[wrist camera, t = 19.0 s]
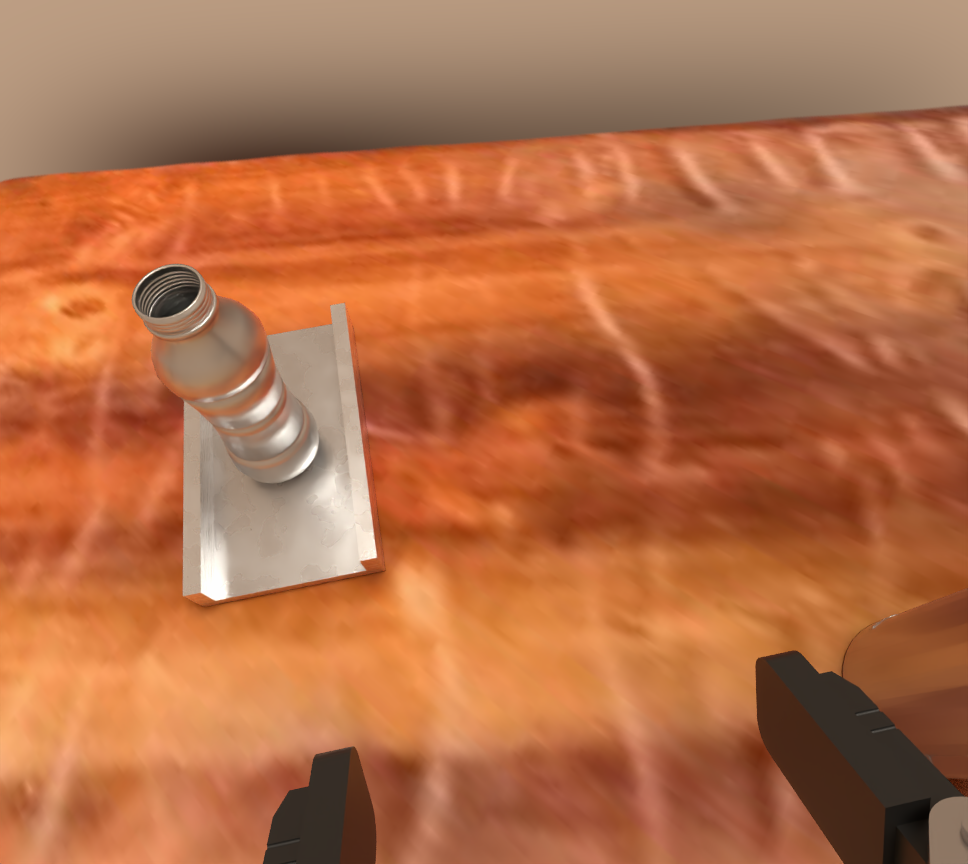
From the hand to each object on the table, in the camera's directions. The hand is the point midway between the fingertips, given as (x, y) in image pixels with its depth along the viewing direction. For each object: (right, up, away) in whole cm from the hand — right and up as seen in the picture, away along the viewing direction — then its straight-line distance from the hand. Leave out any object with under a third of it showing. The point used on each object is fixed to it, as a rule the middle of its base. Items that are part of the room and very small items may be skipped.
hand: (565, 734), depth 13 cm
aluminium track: (-17, +4, +40) cm, 44 cm away
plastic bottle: (-17, +4, +39) cm, 43 cm away
